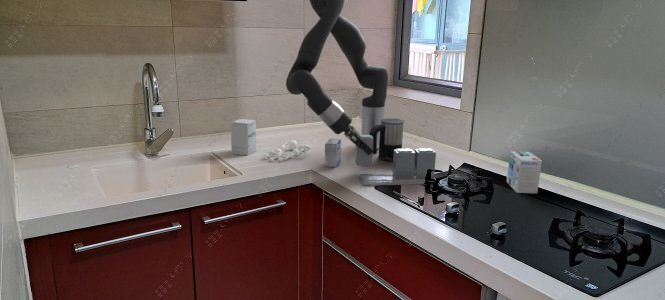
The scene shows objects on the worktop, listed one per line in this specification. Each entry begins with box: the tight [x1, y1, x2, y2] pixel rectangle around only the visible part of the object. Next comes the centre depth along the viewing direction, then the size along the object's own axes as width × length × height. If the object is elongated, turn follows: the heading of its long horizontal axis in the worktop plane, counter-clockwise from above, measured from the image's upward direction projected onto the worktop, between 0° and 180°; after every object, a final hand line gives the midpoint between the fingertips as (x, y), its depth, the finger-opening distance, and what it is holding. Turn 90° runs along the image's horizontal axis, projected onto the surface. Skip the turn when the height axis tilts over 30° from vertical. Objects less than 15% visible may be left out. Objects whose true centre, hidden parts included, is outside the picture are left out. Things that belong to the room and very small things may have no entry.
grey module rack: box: [358, 148, 437, 187], centre depth 157 cm, size 8×24×11 cm, turn 97°
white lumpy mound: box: [263, 140, 311, 163], centre depth 183 cm, size 19×14×4 cm
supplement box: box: [230, 118, 257, 156], centre depth 186 cm, size 7×7×13 cm
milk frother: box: [369, 118, 405, 162], centre depth 177 cm, size 14×16×15 cm
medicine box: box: [324, 138, 342, 168], centre depth 174 cm, size 8×4×9 cm, turn 168°
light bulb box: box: [506, 150, 543, 194], centre depth 152 cm, size 11×7×11 cm, turn 178°
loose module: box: [354, 134, 374, 166], centre depth 162 cm, size 4×6×10 cm, turn 97°
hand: (369, 151), depth 163 cm, fingers closed on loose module, 3 cm apart
